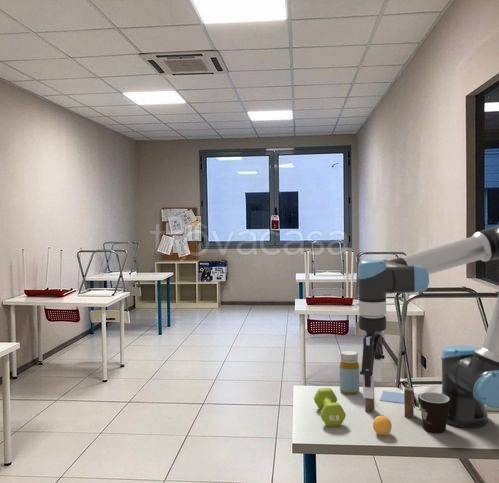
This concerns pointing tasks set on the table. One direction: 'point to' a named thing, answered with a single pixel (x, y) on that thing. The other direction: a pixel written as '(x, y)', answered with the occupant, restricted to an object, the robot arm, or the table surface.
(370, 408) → the post far
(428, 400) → the coffee mug
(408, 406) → the post near
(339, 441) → the table surface
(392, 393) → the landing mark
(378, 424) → the ball
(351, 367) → the bottle
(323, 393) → the dumbbell
